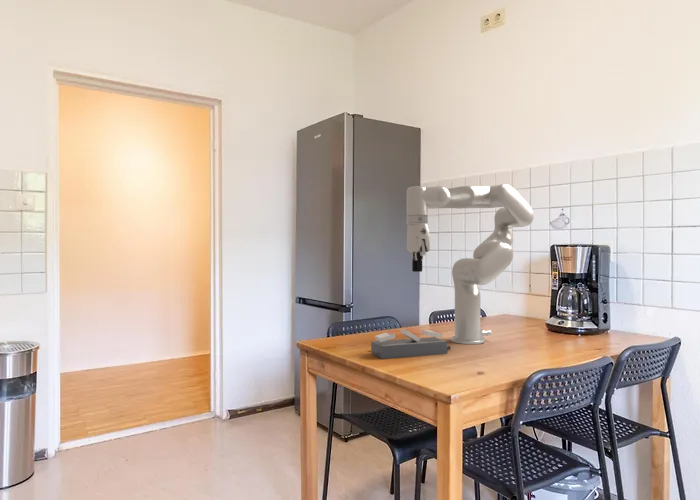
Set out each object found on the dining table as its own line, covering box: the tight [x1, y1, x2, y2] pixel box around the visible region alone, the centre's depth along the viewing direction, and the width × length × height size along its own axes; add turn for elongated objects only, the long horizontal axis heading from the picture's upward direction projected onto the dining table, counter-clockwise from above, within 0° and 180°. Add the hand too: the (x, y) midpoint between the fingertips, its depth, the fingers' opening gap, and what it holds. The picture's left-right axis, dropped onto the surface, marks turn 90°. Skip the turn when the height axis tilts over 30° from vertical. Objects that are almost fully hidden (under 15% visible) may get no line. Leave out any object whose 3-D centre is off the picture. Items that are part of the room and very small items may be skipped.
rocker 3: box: [421, 329, 443, 339], centre depth 167 cm, size 6×4×2 cm
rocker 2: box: [399, 328, 421, 342], centre depth 164 cm, size 6×4×2 cm
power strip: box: [370, 336, 451, 360], centre depth 165 cm, size 28×9×4 cm, turn 108°
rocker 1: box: [374, 331, 397, 342], centre depth 161 cm, size 6×4×2 cm
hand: (417, 271), depth 176 cm, fingers closed
